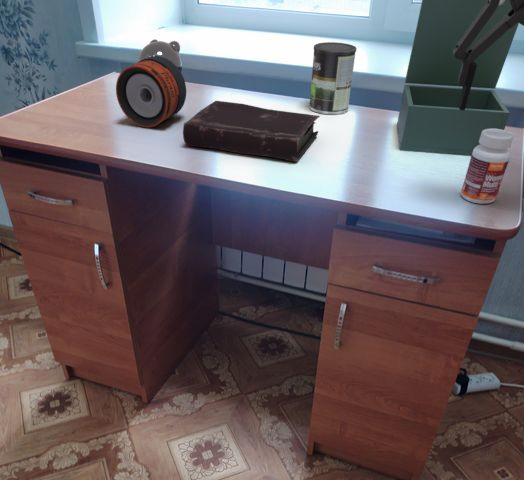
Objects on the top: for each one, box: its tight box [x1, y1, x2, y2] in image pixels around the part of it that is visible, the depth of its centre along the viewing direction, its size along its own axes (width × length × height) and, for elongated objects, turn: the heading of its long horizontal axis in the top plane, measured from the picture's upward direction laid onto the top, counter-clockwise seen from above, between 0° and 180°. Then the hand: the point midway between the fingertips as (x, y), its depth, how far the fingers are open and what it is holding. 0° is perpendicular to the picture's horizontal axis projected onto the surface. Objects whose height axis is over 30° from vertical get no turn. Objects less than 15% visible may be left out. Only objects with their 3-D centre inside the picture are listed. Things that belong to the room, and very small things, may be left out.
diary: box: [182, 100, 320, 162], centre depth 110 cm, size 19×25×5 cm
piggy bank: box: [138, 38, 183, 73], centre depth 138 cm, size 11×15×12 cm
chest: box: [396, 84, 511, 157], centre depth 112 cm, size 17×20×9 cm
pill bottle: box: [460, 129, 515, 205], centre depth 88 cm, size 6×6×11 cm
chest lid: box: [404, 0, 520, 90], centre depth 109 cm, size 18×20×7 cm
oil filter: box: [115, 56, 187, 128], centre depth 116 cm, size 13×12×13 cm
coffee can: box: [308, 41, 358, 116], centre depth 126 cm, size 10×10×14 cm
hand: (503, 111), depth 82 cm, fingers open, 13 cm apart
